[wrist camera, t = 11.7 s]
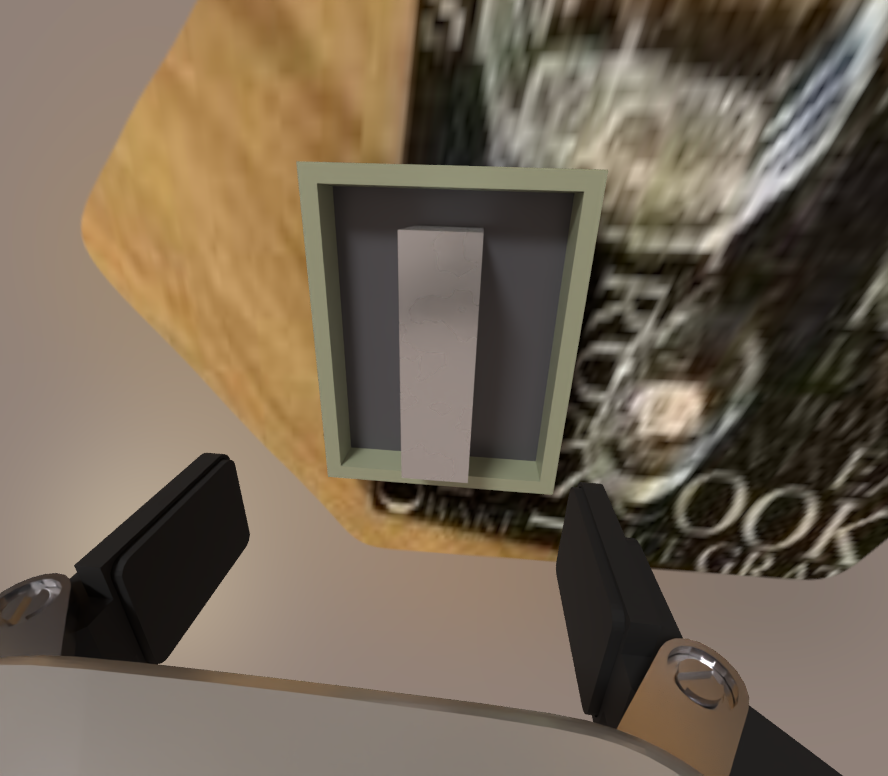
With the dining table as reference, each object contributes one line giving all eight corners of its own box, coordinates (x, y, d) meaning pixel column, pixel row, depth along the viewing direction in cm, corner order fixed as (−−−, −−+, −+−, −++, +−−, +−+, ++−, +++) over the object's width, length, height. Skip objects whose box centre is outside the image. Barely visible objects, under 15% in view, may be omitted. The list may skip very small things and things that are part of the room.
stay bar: (483, 227, 24) (483, 232, 19) (470, 432, 30) (467, 483, 24) (416, 225, 24) (397, 229, 19) (416, 429, 30) (401, 477, 25)
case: (591, 175, 24) (608, 169, 20) (545, 465, 32) (552, 494, 28) (320, 167, 25) (296, 161, 21) (343, 450, 33) (328, 476, 29)
